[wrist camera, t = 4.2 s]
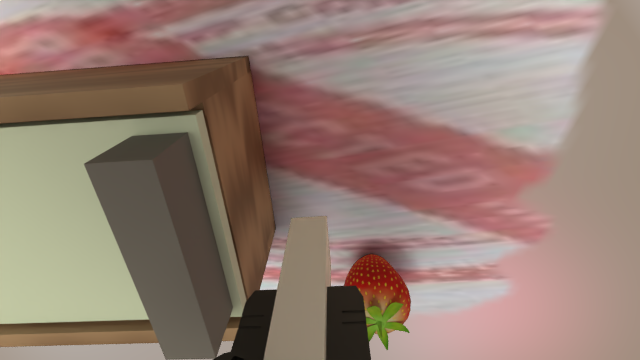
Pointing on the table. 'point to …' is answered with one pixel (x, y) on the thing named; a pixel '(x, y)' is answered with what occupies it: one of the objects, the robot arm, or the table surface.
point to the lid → (118, 228)
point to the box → (146, 98)
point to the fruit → (380, 295)
